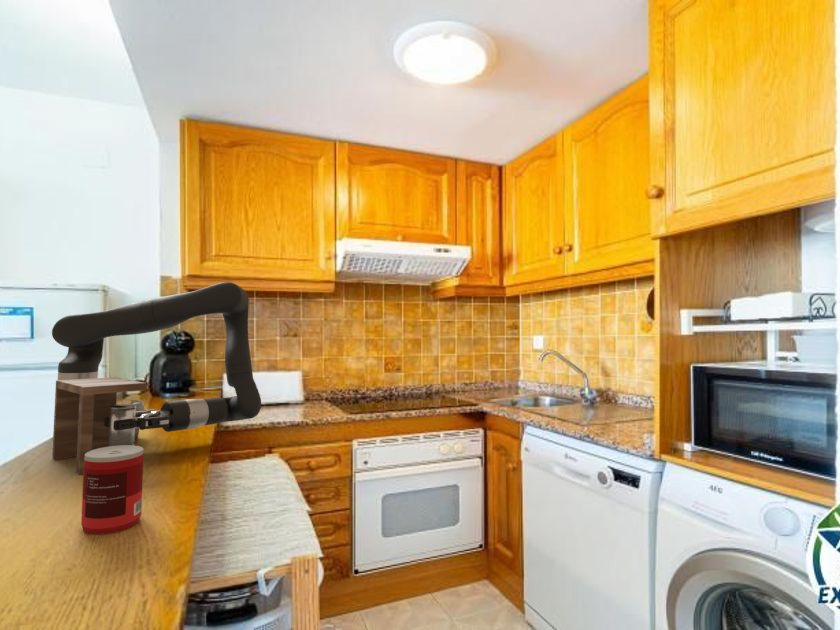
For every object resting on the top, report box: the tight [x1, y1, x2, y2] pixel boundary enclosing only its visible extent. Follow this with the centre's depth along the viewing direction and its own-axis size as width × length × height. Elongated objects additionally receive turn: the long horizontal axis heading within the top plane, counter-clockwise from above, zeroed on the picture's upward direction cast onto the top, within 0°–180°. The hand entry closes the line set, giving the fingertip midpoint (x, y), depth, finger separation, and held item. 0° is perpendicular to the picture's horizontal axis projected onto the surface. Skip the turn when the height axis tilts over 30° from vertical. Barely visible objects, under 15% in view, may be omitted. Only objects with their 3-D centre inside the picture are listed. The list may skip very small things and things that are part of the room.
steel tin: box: [109, 403, 136, 446], centre depth 109 cm, size 5×5×10 cm
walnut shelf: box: [51, 376, 148, 475], centre depth 105 cm, size 18×12×18 cm, turn 52°
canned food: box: [80, 444, 145, 535], centre depth 71 cm, size 8×8×11 cm
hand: (109, 424), depth 107 cm, fingers closed on steel tin, 5 cm apart
